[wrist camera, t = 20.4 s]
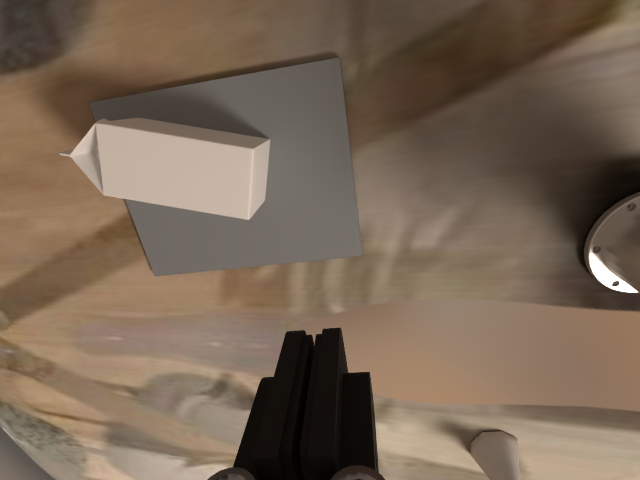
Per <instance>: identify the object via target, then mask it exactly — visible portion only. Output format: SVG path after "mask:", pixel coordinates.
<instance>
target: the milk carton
mask: <svg viewBox="0 0 640 480" xmlns="http://www.w3.org/2000/svg"><path fill="white" fill-rule="evenodd" d="M269 149H270V139H266V138H260V137H254V136H248V135H242V134H236V133H230V132H224V131H218V130H212V129H206V128H200V127H194V126H188V125H182V124H176V123H170V122H164V121H158V120H151V119H145V118H130V119H122V120H113V121H108V120H107V119H101V120H99V121H97V122H96V123H94V124H93V126H92V127H91V128H90V130H89V132H88V133H87V134H86V135H85V137H84V138H83V139H82V140H81V142H80V143H79V144H78V145H77V147H76V148H75V149H74V150H69V151H64V152H60V155H64V156H70V157H71V158H72V159H73V160H74V161H75V163H76V164H77V165H78V166H79V167H80V168H81V170H82V171H83V172H84V173H85V174H86V175H87V176H88V178H89V179H90V180H91V181H92V182H93V183H94V185H95V186H96V187H97V188H98V189H99V190H100V192H101V193H102V194H103V195H105V196H111V197H117V198H123V199H129V200H135V201H141V202H146V203H152V204H158V205H164V206H170V207H176V208H182V209H187V210H193V211H199V212H205V213H211V214H217V215H223V216H229V217H234V218H240V219H246V220H249V219H250V218H251V217H252V216H253V215H254V213H255V212H256V211H257V210H258V208H259V207H260V206H261V205H262V203H263V202H264V201H265V195H266V185H267V173H268V162H269Z"/></svg>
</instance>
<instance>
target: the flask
mask: <svg viewBox="0 0 640 480" xmlns="http://www.w3.org/2000/svg"><path fill="white" fill-rule="evenodd" d="M471 456H472V457H473V458H474V460H475V461H476V462H477V463H478V465H479V466H480V467H481V468H482V470H483V471H484V472H485V473H486V475H487V476H488V477H489V479H490V480H521V478H520V469H519V458H518V444H517V438H515V437H513V436H511V435H509V434H506V433H504V432H502V431H497V432H482V433H481V434H480V435H479V436H477V437H476V438H475V439H474V440H473V441H472V442H471Z"/></svg>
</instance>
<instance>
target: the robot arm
mask: <svg viewBox="0 0 640 480" xmlns="http://www.w3.org/2000/svg"><path fill="white" fill-rule="evenodd" d="M584 260H585V264H586V267H587V269H588V270H589V272H590V274H591V275H592V276H593V277H594V278H595V279H596V280H598V281H599V282H600V283H602V284H603V285H604V286H606V287H608V288H610V289H613V290H617V291H621V292H632V293H634V292H639V293H640V192H638V193H635V194H633V195H631V196H628V197H626V198H624V199H623V200H621V201H619V202H618V203H616V204H614V205H613V206H612V207H611V208H609V209H608V210H607V211H606V212H604V213H603V215H602V216H601V217H600V218H599V219H598V220H597V221H596V222H595V224H594V225H593V227H592V228H591V230H590V232H589V234H588V236H587V239H586V242H585V247H584ZM208 480H385V479H384V478H383V476H382V475H381V474H379V470H378V456H377V442H376V428H375V415H374V404H373V394H372V386H371V378H370V372H359V373H348V368H347V362H346V355H345V349H344V342H343V336H342V330H341V328H330V329H323V331H322V334H317V335H316V339H315V346H314V342H313V337H312V335H306V332H305V331H304V330H302V331H287V332H286V334H285V338H284V342H283V345H282V349H281V353H280V356H279V360H278V364H277V367H276V371H275V374H274V377H264V378H262V379H261V381H260V384H259V387H258V390H257V393H256V396H255V399H254V403H253V406H252V409H251V412H250V415H249V418H248V421H247V425H246V428H245V431H244V434H243V437H242V440H241V444H240V447H239V450H238V453H237V456H236V459H235V462H234V466H233V467H232V468H227V469H224V470H221V471H219V472H217V473H216V474H214V475H212V476H211V477H210V478H209V479H208Z"/></svg>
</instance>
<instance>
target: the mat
mask: <svg viewBox="0 0 640 480" xmlns="http://www.w3.org/2000/svg"><path fill="white" fill-rule="evenodd" d="M88 104H89V106H90V109H91V112H92V114H93V117H94V119H95V122H97V121H99V120H101V119H107V120H108V121H113V120H122V119H130V118H145V119H151V120H158V121H164V122H170V123H176V124H182V125H188V126H194V127H200V128H206V129H212V130H218V131H224V132H230V133H236V134H242V135H248V136H254V137H260V138H266V139H270V149H269V162H268V173H267V185H266V195H265V201H264V202H263V203H262V205H261V206H260V207H259V208H258V210H257V211H256V212H255V213H254V215H253V216H252V217H251V218H250V219H249V220H246V219H240V218H234V217H229V216H223V215H217V214H211V213H205V212H199V211H193V210H187V209H182V208H176V207H170V206H164V205H158V204H152V203H146V202H141V201H135V200H129V199H125V200H126V203H127V206H128V208H129V211H130V213H131V216H132V219H133V221H134V224H135V227H136V229H137V232H138V234H139V237H140V240H141V242H142V245H143V247H144V250H145V253H146V255H147V258H148V260H149V263H150V266H151V268H152V271H153V274H154V276H163V275H173V274H183V273H193V272H203V271H213V270H224V269H234V268H244V267H254V266H264V265H274V264H284V263H294V262H304V261H314V260H324V259H334V258H344V257H354V256H363V255H362V246H361V237H360V228H359V220H358V211H357V202H356V194H355V185H354V176H353V168H352V159H351V150H350V142H349V133H348V124H347V116H346V107H345V98H344V90H343V81H342V72H341V64H340V57H339V58H333V59H328V60H322V61H317V62H311V63H306V64H300V65H294V66H289V67H283V68H278V69H272V70H267V71H261V72H256V73H250V74H244V75H239V76H233V77H228V78H222V79H217V80H211V81H206V82H200V83H194V84H189V85H183V86H178V87H172V88H167V89H161V90H156V91H150V92H144V93H139V94H133V95H128V96H122V97H117V98H111V99H106V100H100V101H94V102H89V103H88Z"/></svg>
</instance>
